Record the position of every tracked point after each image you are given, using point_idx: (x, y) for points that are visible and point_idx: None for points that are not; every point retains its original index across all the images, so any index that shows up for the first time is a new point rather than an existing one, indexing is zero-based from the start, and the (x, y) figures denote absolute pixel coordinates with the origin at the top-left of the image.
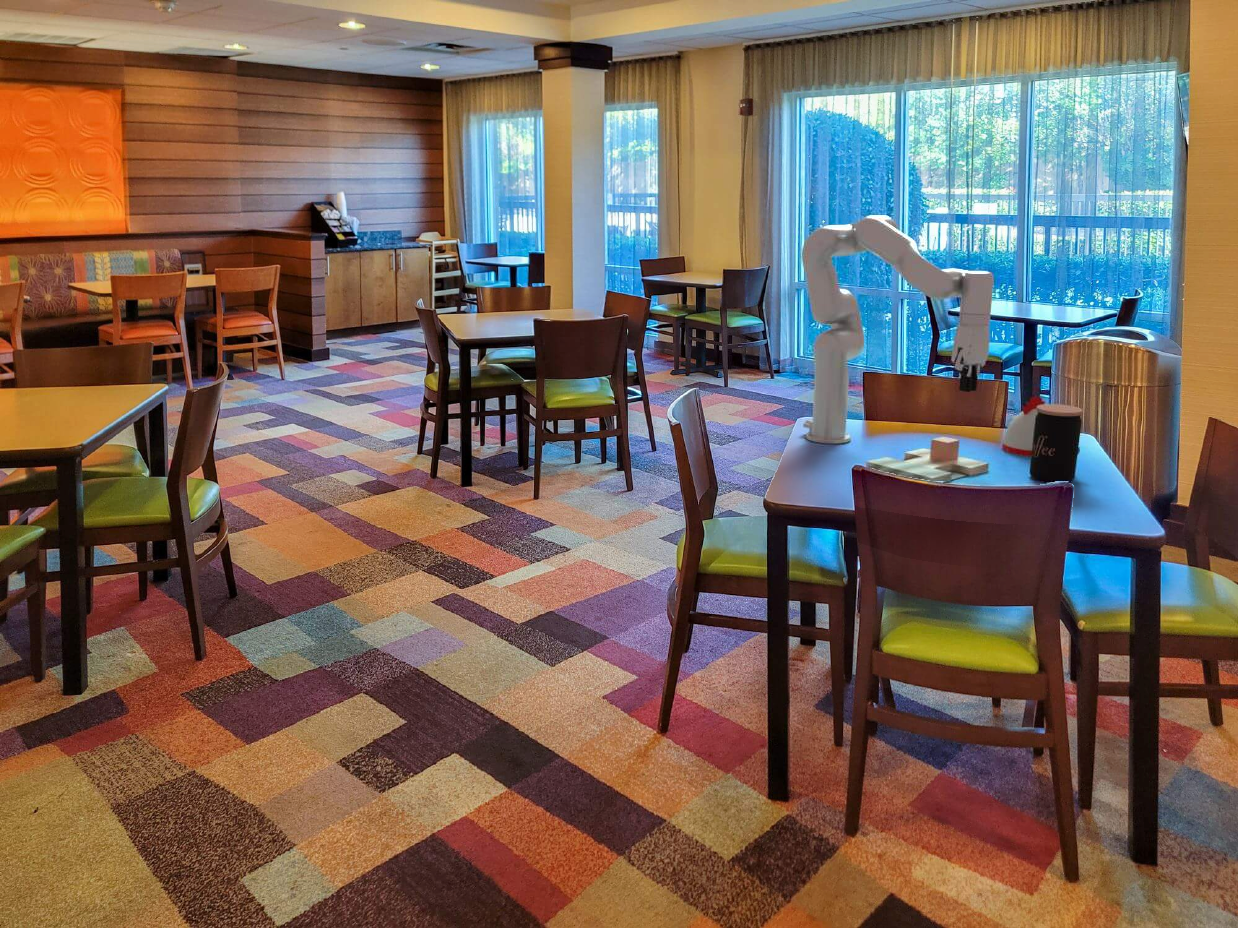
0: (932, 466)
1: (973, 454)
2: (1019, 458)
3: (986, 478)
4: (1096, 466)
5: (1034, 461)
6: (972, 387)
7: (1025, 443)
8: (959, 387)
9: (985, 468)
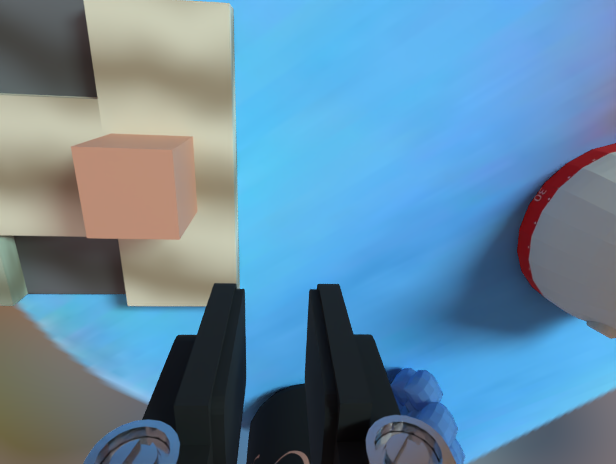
0: (13, 218)
1: (410, 141)
2: (466, 268)
3: (157, 333)
4: (517, 421)
5: (252, 449)
6: (306, 381)
7: (547, 274)
8: (211, 294)
9: None
